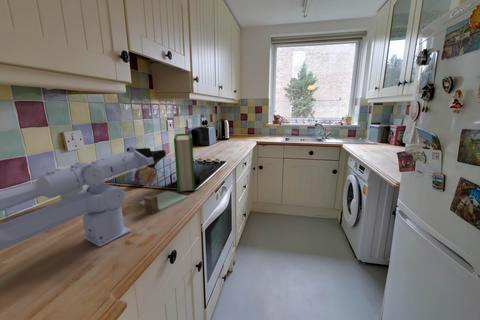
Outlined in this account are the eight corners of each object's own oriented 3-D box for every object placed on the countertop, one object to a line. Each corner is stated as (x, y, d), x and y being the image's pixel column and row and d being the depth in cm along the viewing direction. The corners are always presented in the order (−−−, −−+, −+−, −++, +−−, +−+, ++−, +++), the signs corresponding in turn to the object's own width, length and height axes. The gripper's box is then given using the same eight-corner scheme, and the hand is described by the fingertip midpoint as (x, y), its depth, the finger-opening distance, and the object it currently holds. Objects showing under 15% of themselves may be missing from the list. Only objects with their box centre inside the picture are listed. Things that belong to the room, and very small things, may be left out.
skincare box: (89, 197, 96) (83, 163, 93) (85, 203, 90) (79, 167, 87) (65, 200, 93) (59, 165, 90) (60, 206, 88) (52, 169, 84)
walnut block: (152, 214, 81) (151, 198, 79) (145, 212, 83) (143, 196, 81) (158, 211, 83) (157, 196, 81) (151, 209, 85) (149, 194, 83)
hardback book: (195, 191, 102) (192, 138, 96) (177, 193, 100) (173, 138, 94) (193, 179, 118) (191, 133, 113) (179, 181, 117) (175, 134, 111)
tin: (140, 188, 107) (138, 170, 105) (134, 187, 108) (132, 170, 106) (157, 178, 121) (156, 163, 120) (152, 178, 122) (150, 162, 120)
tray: (160, 210, 83) (160, 208, 83) (139, 203, 89) (139, 201, 89) (187, 197, 95) (187, 195, 95) (167, 192, 101) (167, 190, 101)
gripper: (132, 153, 63) (170, 142, 74) (103, 148, 71) (141, 139, 82) (137, 176, 65) (173, 162, 76) (108, 169, 73) (145, 158, 84)
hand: (157, 152), depth 79 cm, fingers open, 7 cm apart
